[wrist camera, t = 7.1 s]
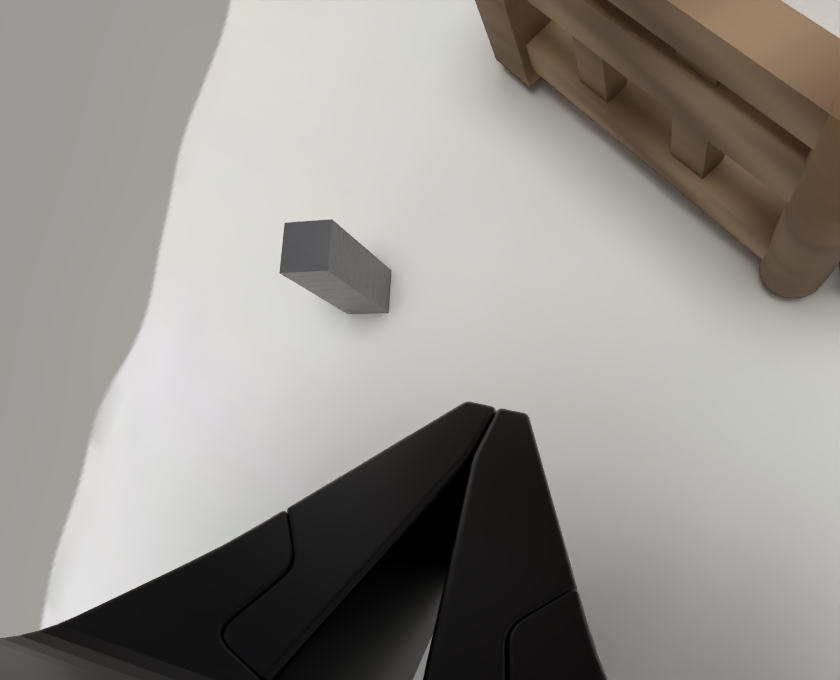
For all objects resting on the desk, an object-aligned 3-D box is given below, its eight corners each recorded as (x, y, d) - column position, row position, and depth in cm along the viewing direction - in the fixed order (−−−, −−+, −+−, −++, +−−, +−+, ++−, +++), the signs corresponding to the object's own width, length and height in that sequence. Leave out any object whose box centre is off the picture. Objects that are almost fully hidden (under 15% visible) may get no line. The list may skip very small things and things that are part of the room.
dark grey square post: (901, 300, 20) (1078, 159, 12) (347, 313, 26) (198, 224, 17) (896, 246, 20) (1066, 71, 12) (351, 270, 26) (206, 163, 18)
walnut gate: (841, 267, 20) (974, 104, 12) (793, 309, 20) (892, 179, 12) (532, 23, 25) (472, -214, 17) (496, 59, 25) (417, -159, 17)
